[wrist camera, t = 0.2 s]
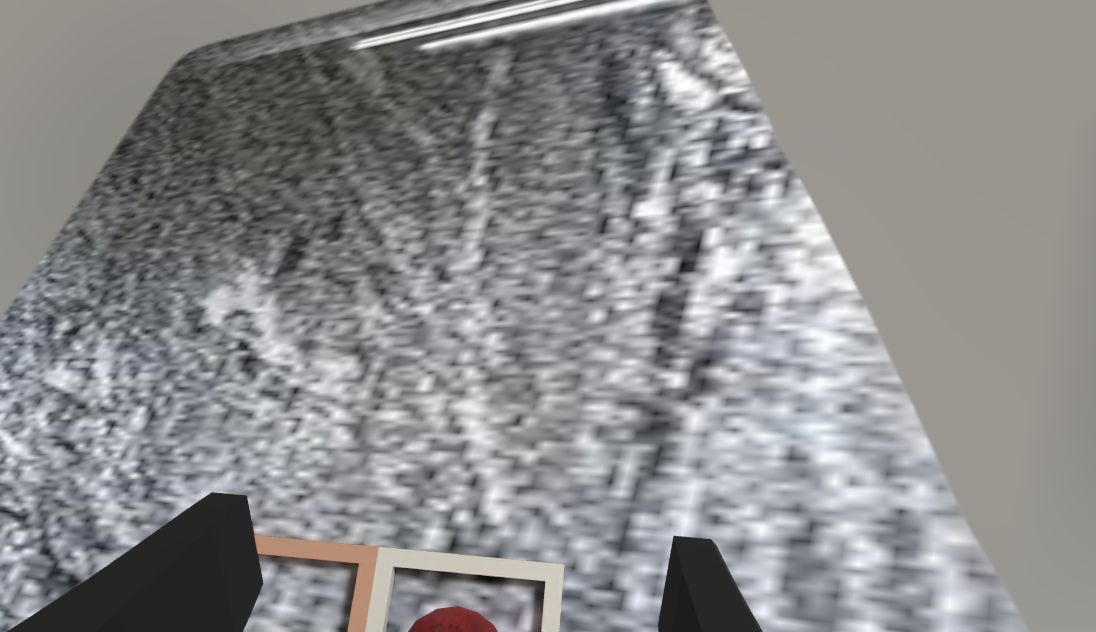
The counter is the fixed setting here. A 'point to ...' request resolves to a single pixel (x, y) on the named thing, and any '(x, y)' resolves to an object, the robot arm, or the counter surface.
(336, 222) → the counter surface
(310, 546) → the terracotta frame
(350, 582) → the counter surface
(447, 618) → the onion
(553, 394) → the counter surface
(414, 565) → the cream frame
